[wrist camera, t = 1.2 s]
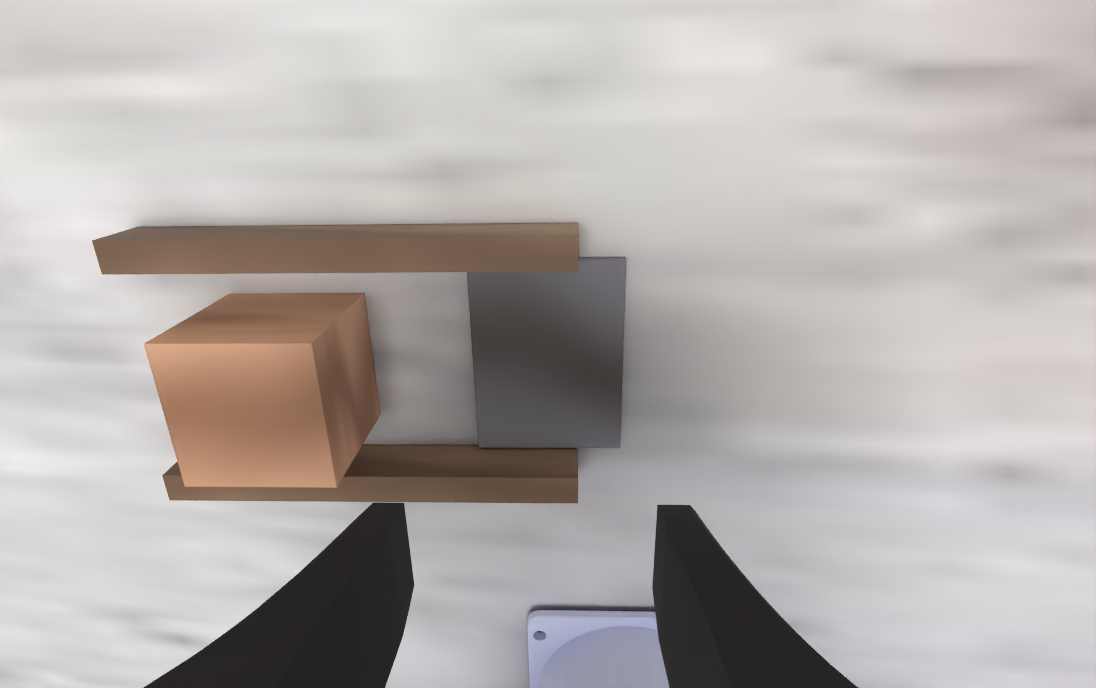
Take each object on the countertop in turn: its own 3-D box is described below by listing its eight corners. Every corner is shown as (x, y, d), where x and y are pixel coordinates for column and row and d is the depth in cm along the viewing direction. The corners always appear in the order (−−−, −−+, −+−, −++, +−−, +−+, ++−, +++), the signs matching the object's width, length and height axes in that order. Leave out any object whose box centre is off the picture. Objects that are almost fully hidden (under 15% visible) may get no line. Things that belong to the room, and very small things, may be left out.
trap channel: (618, 469, 22) (622, 503, 20) (202, 467, 23) (169, 500, 21) (626, 222, 19) (632, 235, 17) (137, 227, 19) (92, 240, 18)
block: (381, 412, 22) (336, 487, 18) (257, 412, 22) (184, 486, 18) (365, 292, 20) (311, 343, 16) (231, 292, 20) (143, 344, 16)
